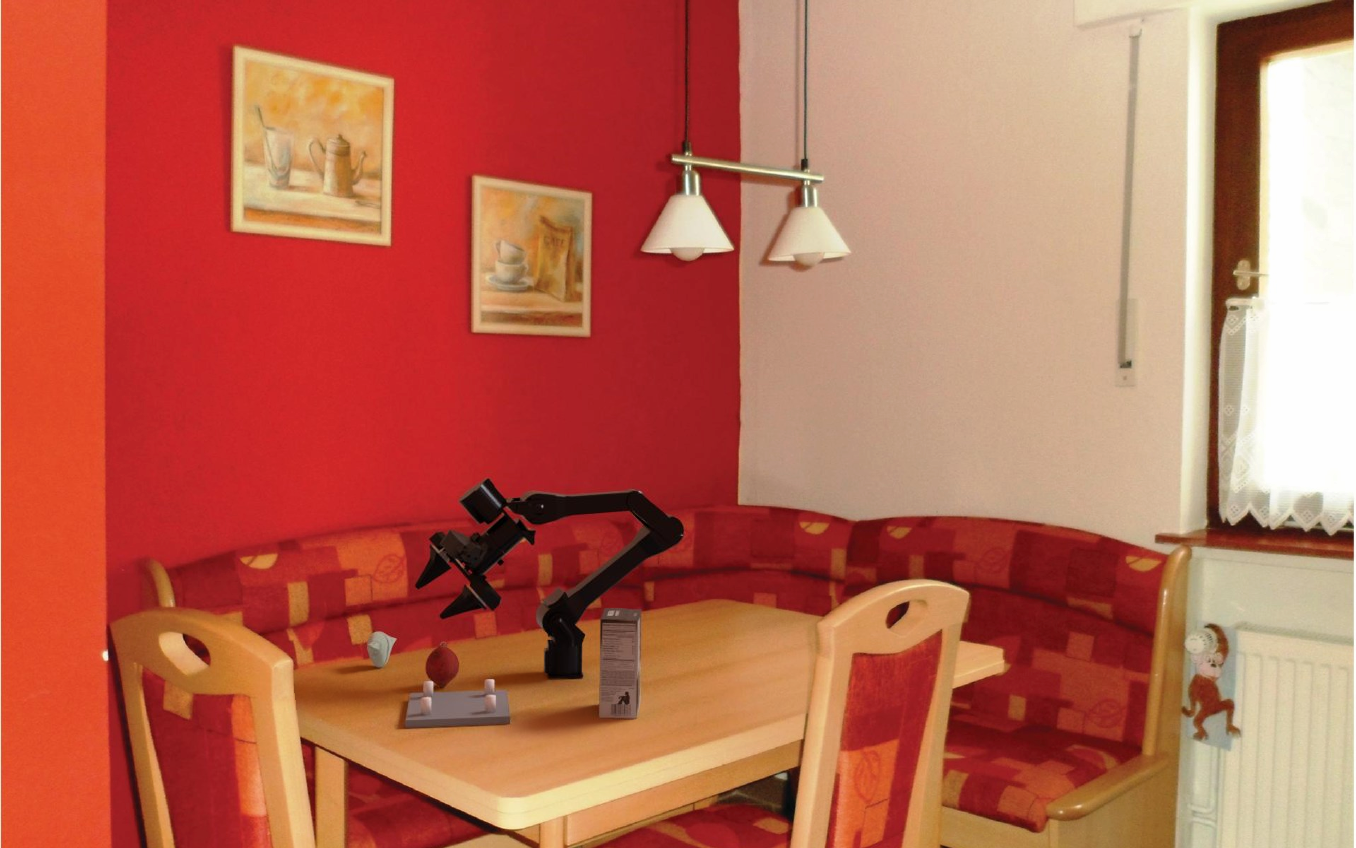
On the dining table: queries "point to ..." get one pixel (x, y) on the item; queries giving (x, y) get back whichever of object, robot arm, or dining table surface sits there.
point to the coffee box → (620, 663)
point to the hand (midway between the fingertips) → (428, 602)
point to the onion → (442, 665)
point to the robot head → (379, 648)
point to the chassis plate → (457, 707)
